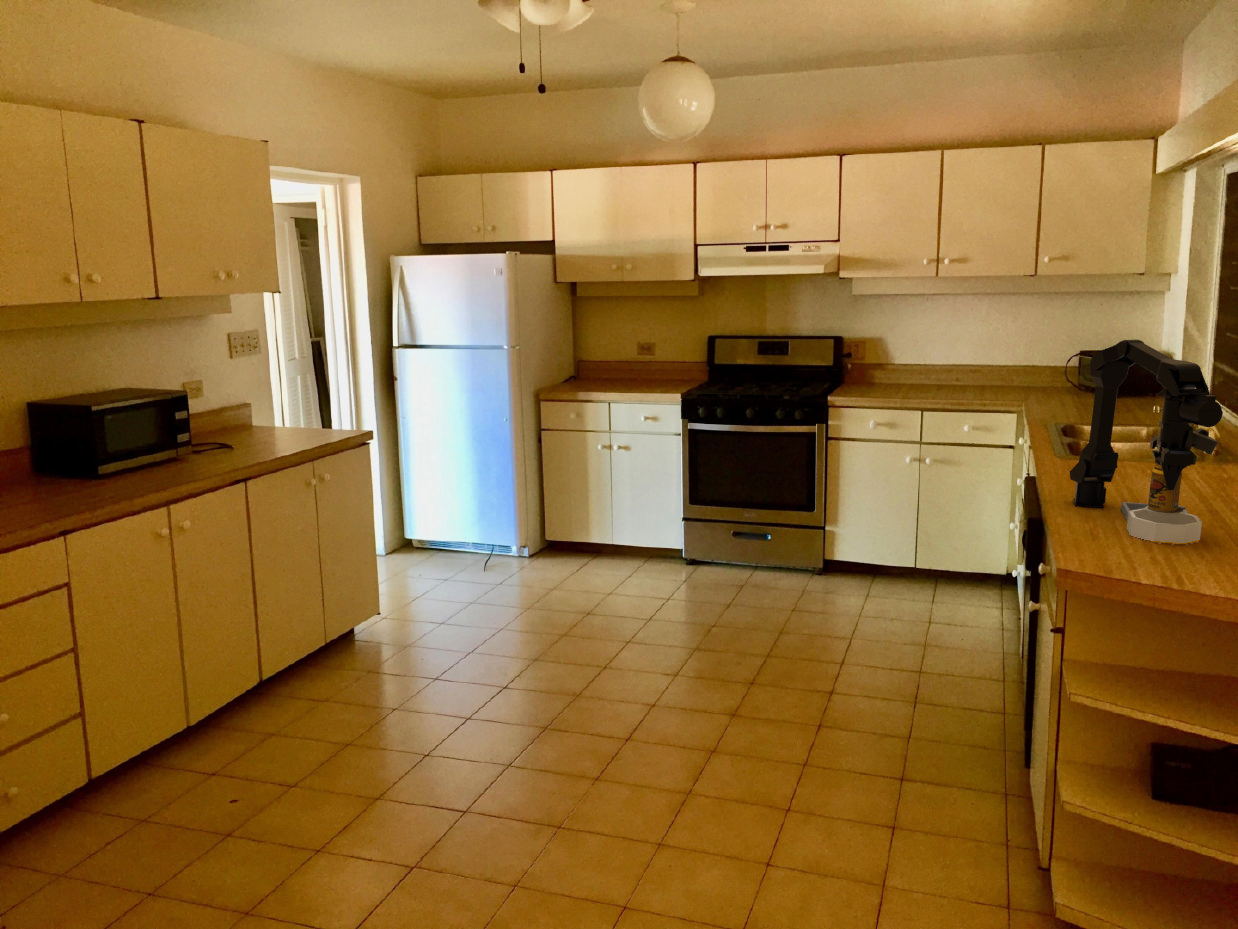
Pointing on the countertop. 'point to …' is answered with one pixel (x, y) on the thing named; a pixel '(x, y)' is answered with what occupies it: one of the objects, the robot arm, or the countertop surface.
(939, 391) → the countertop surface
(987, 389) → the countertop surface
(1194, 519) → the bowl
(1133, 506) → the open square frame
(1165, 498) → the condiment
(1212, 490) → the countertop surface
